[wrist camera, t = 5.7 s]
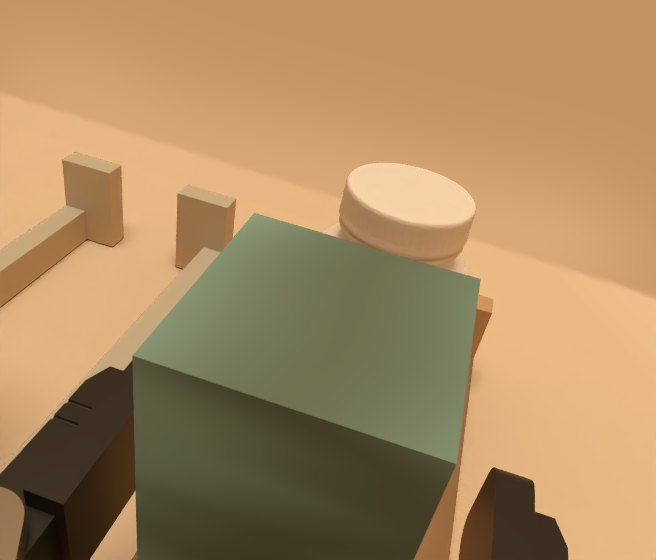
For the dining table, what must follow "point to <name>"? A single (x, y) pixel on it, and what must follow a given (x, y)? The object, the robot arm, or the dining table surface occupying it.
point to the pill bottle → (406, 214)
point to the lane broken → (107, 228)
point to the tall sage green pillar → (305, 404)
